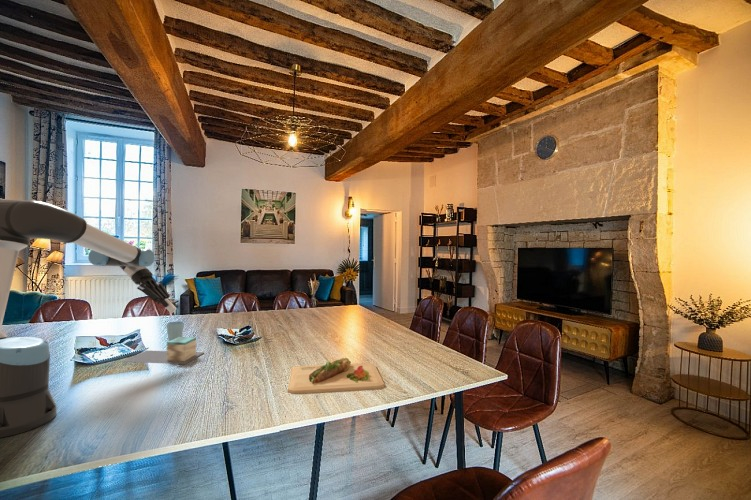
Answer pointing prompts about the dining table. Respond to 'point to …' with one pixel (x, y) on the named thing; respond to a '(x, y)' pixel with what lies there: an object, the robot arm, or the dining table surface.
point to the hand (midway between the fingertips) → (173, 311)
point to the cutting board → (334, 377)
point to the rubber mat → (158, 358)
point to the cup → (174, 330)
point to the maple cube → (181, 348)
